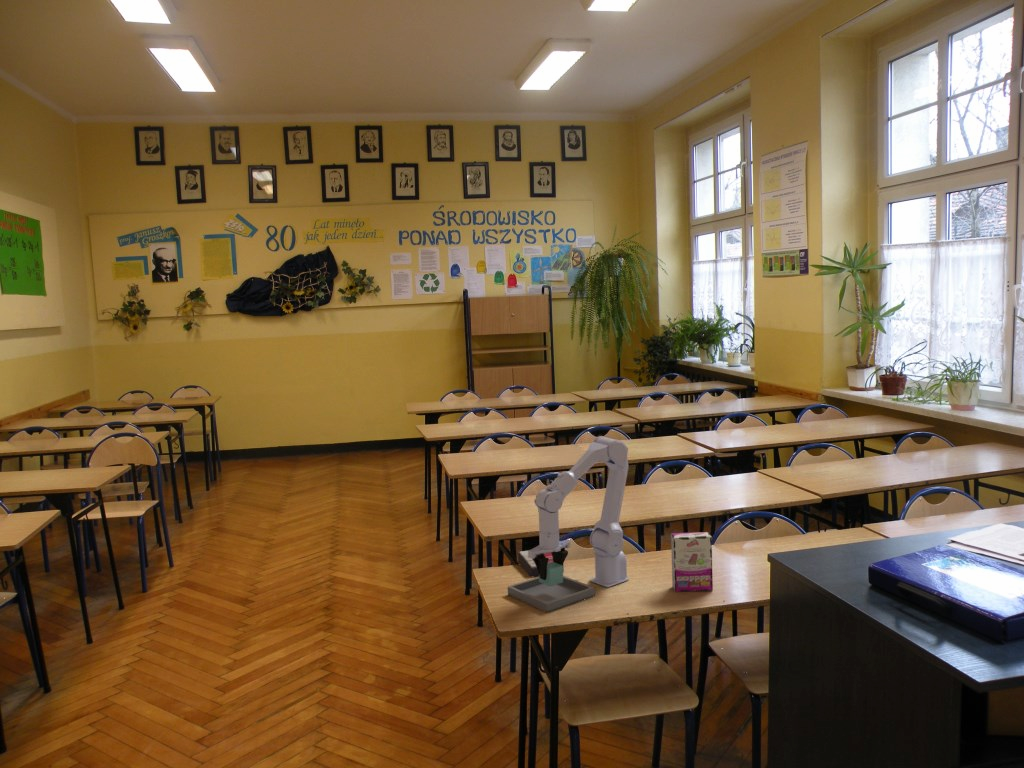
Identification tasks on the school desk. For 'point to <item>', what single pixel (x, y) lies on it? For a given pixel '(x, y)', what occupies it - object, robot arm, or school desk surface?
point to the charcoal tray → (551, 593)
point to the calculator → (531, 562)
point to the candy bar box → (691, 562)
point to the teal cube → (553, 574)
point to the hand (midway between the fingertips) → (550, 576)
